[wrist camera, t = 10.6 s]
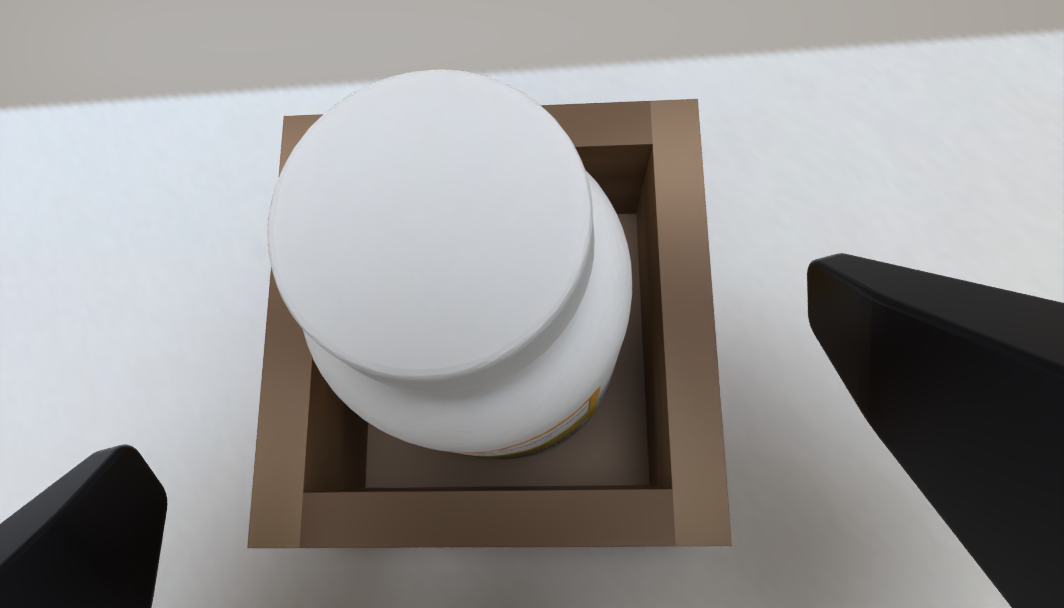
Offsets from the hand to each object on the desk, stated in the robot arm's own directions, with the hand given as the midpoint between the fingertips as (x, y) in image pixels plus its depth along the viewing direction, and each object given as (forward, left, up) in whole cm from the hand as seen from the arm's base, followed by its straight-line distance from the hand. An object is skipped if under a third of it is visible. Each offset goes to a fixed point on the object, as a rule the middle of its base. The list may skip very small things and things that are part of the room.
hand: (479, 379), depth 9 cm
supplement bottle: (+1, +1, -9) cm, 9 cm away
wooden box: (+1, +2, -9) cm, 9 cm away
